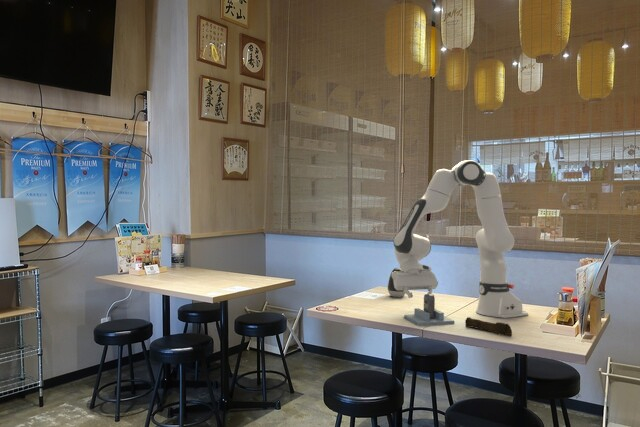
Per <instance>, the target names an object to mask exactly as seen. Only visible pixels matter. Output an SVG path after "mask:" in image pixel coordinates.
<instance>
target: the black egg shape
mask: <svg viewBox="0 0 640 427" xmlns="http://www.w3.org/2000/svg"><path fill="white" fill-rule="evenodd" d="M394 271H396V272H398V271H401V270H400V267H395V268H393V269H392V271H391V273H390V276H389V277H388V278H389V279H388V281H387V282H388V283H387V289H386V290H387V292H388V294H389V295H390V297H394V298H402V297H404V296H405V295H406V293H405V292H404V290H396V289H395V287H394V282H393V279H392V276H391V274H392V273H393V272H394Z"/></svg>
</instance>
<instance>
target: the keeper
mask: <svg viewBox="0 0 640 427" xmlns="http://www.w3.org/2000/svg"><path fill="white" fill-rule="evenodd" d="M413 310H414V311H413V312H414V314H412V313H411V314H410V313H409V314H404V319H406V320H408V321H410V322H411V321H412V322H411V323H413V324H415V325H417V326H418V325H419V326H421V327H423V326H434V325H453V324H455V320H454V319H451V318H449V317H447V316H445V313H444V312H442V311H441V310H439V309H437V308H435V311H434V319H430V314H429V313H427V312H425V311H424V309H421V308H419V307H418V308H414V309H413Z"/></svg>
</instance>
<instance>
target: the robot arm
mask: <svg viewBox="0 0 640 427" xmlns="http://www.w3.org/2000/svg"><path fill="white" fill-rule="evenodd" d="M457 186H464V187H465V186H471V188H472V189H473V191H474V197H475V206H476V213H477V217H478V219H479V222H481V226H482V228H481V229H479V230H478V231H476V234H475V242H476V244H477V250H478V256H479V262H480V264H479V265H480V275H479V276H480V277H479V278H480V280H479V283H478V284H479V285H478V286H479V287H478V291H479V295H478V296H479V297H478V302H477V307H476V309H475V310H476V311H475V312H476V313H477V314H480V315H483V316H487V317H495V318H496V317H497V318H503V319H507V318H515V317H517V318H518V317H523V316H528V315H529V312H528V311H526V310H524V309H523V303H522V300H520V299H519V297H517V296H516V295H515V294H513V293H512V291H511V290H513V289H514V288H515V284H512V283H507V264H506V261H505V258H504V254H505V253H509V252H510V251H511V250H512V249H513V248H514V245H515V236H514V235H513V234H512V232H511V231H510V227H509V224H508V222H507V220H506V219H507V218H506V215H505V212H504V205H503V201H502V200H503V198H502V193H501V188H500V184H499V180H498V178H497V176H496V175H495V173H490V172H486V171H485V170H484V169H483V168H482V166H481V165H480V164H479V163H478V162H477V161H475V160H472V159H471V160H470V159H469V160H462V161H459V163H456V164H455V165H454V166H453V167H451V168H450V169H446V168H441V169H438V170H436V171H435V172H434V174H433V176H432V177H431V180H430V182H428V186H427V189H426V191H425V193H423V195H422V197H421V198H419V199H418V200H416V201H415V202H414V204H413V206H412V207H411V209H410V211H409V213H408V215H407V217H406V218H405V220H404V222H403V223H402V225H401V227H400V229H399V230H398V231H397V233H396V234H395V236H394V237H393V246H394V254H395V258H396V261H397V263H398V264H399V268H400V270H401V271H398V272H396V271H394V272H393V273H392V274H391V273H390V275H391V276H392V279H393V282H394V287H395V289H396V290H404V292H405V295H407V298H408V299H409V298H410V299H412V298H413V296H414V295H413V292H410V291H418V290H419V291H421V290H422V291H423V290H424V291H426V290H427V291H428V292H427V294H433V293H432V292H433V290H436V288H438V287H439V286H438V285H439V281H438V278H437V277H436V275H435V273H434V272H433V271H432V268H431V266H429V265H425V264H422V263H420V262H419V261H420V260H421V261H422V260H423V259H424V258H426V257H427V256H428V255H429V254H430V253H431V250H432V243H431V241H430V239H429V238H427V237H425V236H421V235H419V234H416V233H414V231H415V230H416V228H417V226H418V224H419V222H420V221H421V219H422V218H423V217H424V216H425V215H427V214H431V213H438V212H441V211H444V209H446V207H447V206H448V204H449V203H450V199H451V196H452V194H453V191H454V190H455V188H456V187H457ZM510 289H511V290H510Z"/></svg>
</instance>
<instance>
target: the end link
mask: <svg viewBox="0 0 640 427" xmlns="http://www.w3.org/2000/svg"><path fill="white" fill-rule="evenodd" d="M435 302H436V301H435V295H434V294H433V293H432V294H424V295H423V311H425V312H427V313H429V314H430V319H434V311H435V309H436V308H435V305H436V304H435Z"/></svg>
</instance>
